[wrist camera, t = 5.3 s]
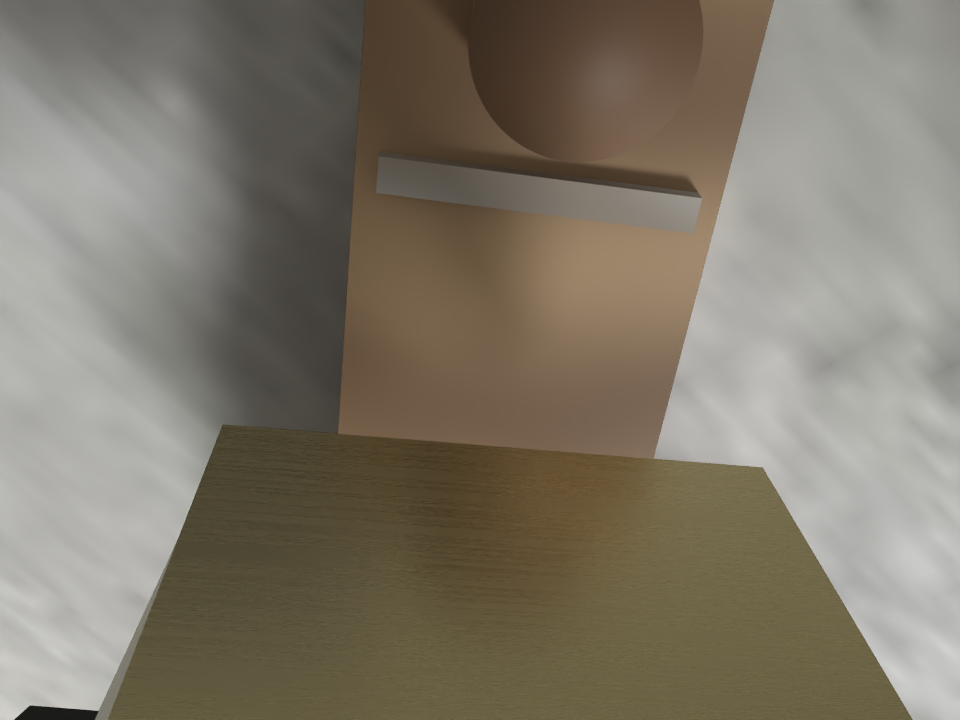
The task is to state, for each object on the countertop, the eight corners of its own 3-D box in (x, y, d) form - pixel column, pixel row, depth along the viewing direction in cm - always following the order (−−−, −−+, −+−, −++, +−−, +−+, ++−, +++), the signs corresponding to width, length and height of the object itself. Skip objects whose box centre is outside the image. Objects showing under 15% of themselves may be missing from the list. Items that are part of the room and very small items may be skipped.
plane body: (563, 629, 24) (592, 931, 17) (344, 606, 24) (283, 903, 17) (733, -107, 16) (924, -105, 9) (402, -155, 16) (329, -193, 9)
